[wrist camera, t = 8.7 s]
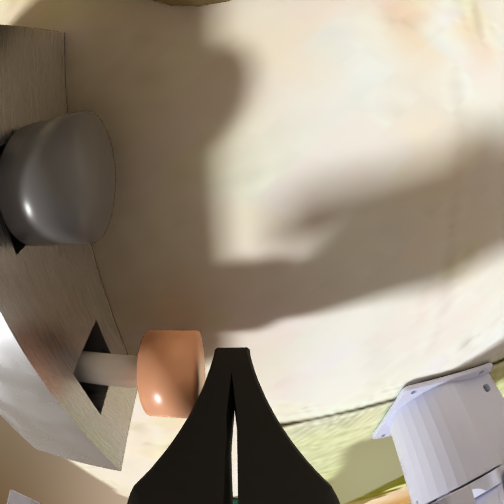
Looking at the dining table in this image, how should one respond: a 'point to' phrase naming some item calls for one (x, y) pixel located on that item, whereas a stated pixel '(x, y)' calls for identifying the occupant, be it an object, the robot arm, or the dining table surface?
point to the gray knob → (58, 181)
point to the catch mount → (52, 293)
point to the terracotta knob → (153, 371)
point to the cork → (190, 2)
